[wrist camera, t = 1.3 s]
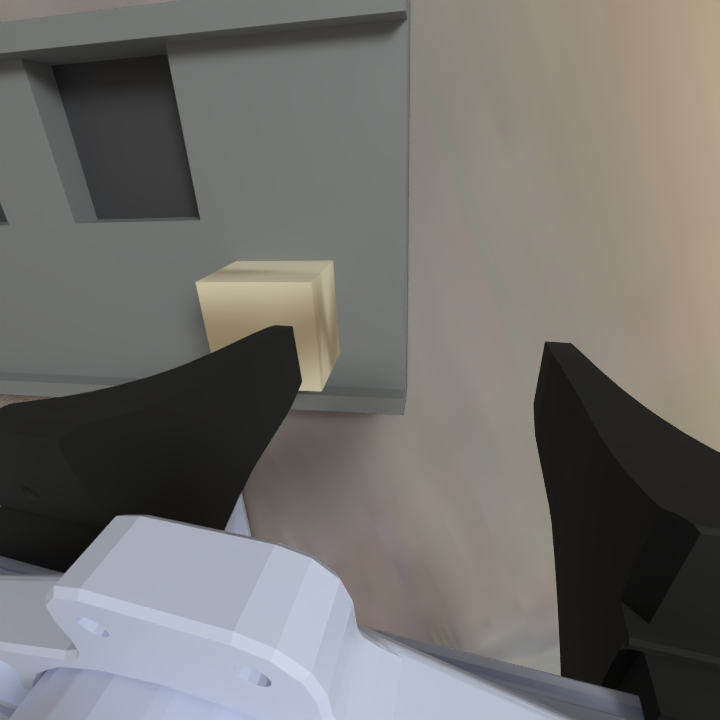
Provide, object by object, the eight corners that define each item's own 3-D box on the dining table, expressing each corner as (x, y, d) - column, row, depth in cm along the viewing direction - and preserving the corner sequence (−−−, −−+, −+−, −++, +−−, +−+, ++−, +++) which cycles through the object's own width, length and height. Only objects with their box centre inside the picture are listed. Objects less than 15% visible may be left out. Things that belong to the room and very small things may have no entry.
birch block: (339, 354, 22) (321, 391, 19) (251, 351, 23) (218, 386, 19) (333, 260, 20) (311, 282, 16) (236, 261, 21) (195, 282, 17)
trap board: (407, 387, 25) (403, 420, 22) (-84, 367, 30) (-143, 390, 27) (410, 2, 17) (404, -33, 14) (-249, 74, 23) (-357, 60, 20)
